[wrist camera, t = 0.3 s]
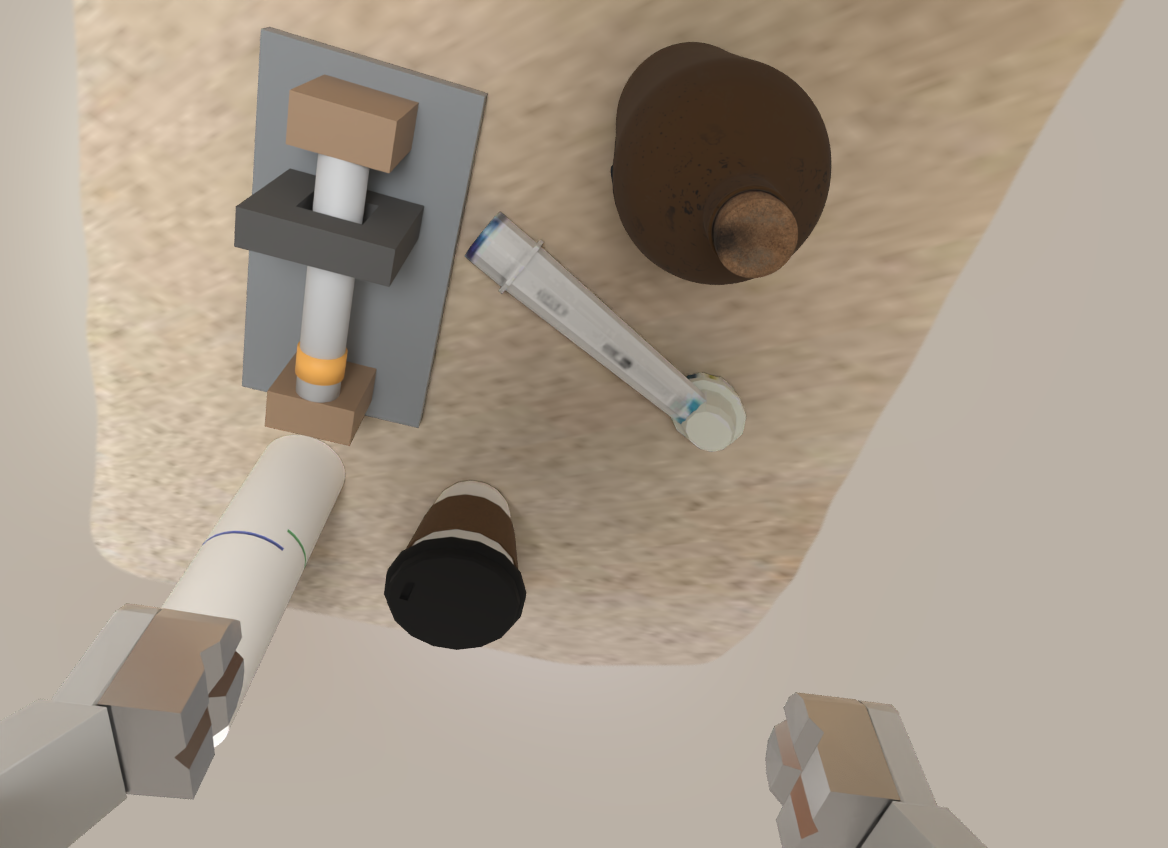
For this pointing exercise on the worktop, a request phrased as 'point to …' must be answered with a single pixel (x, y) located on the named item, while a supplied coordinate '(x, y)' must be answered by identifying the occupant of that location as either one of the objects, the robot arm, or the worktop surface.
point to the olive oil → (717, 164)
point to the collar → (328, 230)
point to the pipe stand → (343, 175)
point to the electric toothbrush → (607, 335)
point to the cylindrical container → (262, 545)
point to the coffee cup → (459, 571)
